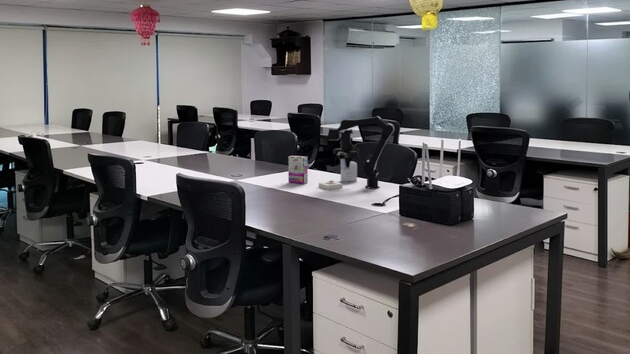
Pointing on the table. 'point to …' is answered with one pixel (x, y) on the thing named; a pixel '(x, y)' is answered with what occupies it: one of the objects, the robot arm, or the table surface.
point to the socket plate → (330, 185)
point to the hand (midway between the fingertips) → (345, 167)
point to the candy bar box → (298, 169)
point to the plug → (344, 165)
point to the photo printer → (349, 173)
